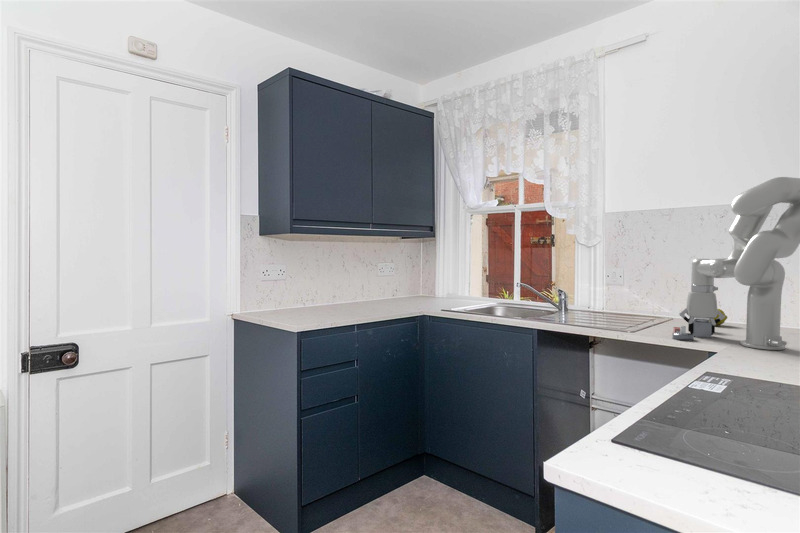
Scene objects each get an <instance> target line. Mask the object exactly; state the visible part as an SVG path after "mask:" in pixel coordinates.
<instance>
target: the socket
mask: <svg viewBox="0 0 800 533" xmlns="http://www.w3.org/2000/svg"><path fill="white" fill-rule="evenodd" d="M692 323H693V335H694V336H695V337H694V338H703V337H708V338H707V339H712V336H713V335H712V323H711V322H710V321H709V320H708V319H700V318H696V319H694V320H693V322H692Z"/></svg>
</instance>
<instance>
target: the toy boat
mask: <svg viewBox="0 0 800 533" xmlns="http://www.w3.org/2000/svg"><path fill="white" fill-rule="evenodd" d="M672 328H673V331H672V336H671V338H672V339H673V340H675V341H676V340H677V341H681V342H683V341H685V342H690V341H689V340H693V341H694V338H695V337H694V335H693V334H691V333H690V332H687V329H686V328H687V327H686V325H680V326H673V327H672Z"/></svg>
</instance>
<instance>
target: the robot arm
mask: <svg viewBox="0 0 800 533" xmlns="http://www.w3.org/2000/svg"><path fill="white" fill-rule="evenodd" d="M780 203H781V204H789V206H788V208H787V209H785V211H783V213H782V214H781V215H780V216H779V218H778V221H777V222H776V224H775V226H774V227H773V228H772V229H771V230H767V229H766V230H762V231H760V230H761V229H762V227H763V225H764V223H765V222H766V220H767V218H768V217H769V215H770V214H771V212H772V210H773V207H774V205H777V204H780ZM730 208H731V211H732V213H733V214H734V215H736V216H735V218H734V220H733V222H732V223H731V225H730V228H729V229H728V233H729V235H730V236H731V238H732V239H733V242H734V244H733V249H732V251H731V252H730V255H729V256H728V258H727V257H726V258H694V259H693V260H692V261H691V284H690V285H691V287H690V291H689V292H688V294H687V300H686V308H684V309H683V310H682V311H681V312H679V313H678V315H679V316H680V317H681V318H682V319H683V320H684V321H685V322H687V323H688V326H687V327H688V328H687V329H688V330H687V331H688V333H690V334H693V323H692V322H693V320H694V318H695V317H696V318H709V319H710V322H711V323H712V335H711V336H714V334H715V331H716V328H715V327H716V326H715V325H716V324H717V323H718V322H720V321H721V320H722V319H724V318H725V316H724V315H723V314H722V313H721V312H720V311H719V310H718V309H719V308H718V301H717V294H716V293H715V291H719V287H718V286H715V284H714V283H715V279H729V278H735V280H736V281H737V283H739V284H740V285H742V286H746V287H747V286H748V287H749V288H748V292H747V298H746V300H747V301H746V328H745V330H746V331H745V332H746V333H745V339H742V340H741V341H740V345H742V346H744V347H747V348H750V349H751V348H752V349H758V350H766V351H767V350H771V351H783V350H785V349H786V346H787V344H788V343H787V341H785V340H783V339H782V338H783V337H782V336H781V321H782V320H781V319H782V318H781V317H782V315H781V314H782V313H781V312H782V295H783V294H782V292H783V288H784V287H783V286H784V283H785V276H786V271H785V268H784V266H783V265H782V263H781V262H779V261H777V260H775V259H784V258H788V257H791V256H792V255H793V254H794V253H795V252H796V250H797V249H798V247H799V245H800V177H789V176H778V177H774V178H771V179H769V180H767V181H764V182H761V183H759V184H758V185H756V186H753V187H751V188H749V189H747V190H745V191H743V192H741V193H739V194H738V195H736V196H735V197H734V199H733V200H732V201H731V206H730ZM717 314H718V315H719V317H718V318H717V319H715V320H714V318H716V317H717ZM686 315H687V316H688V317H687V316H686Z"/></svg>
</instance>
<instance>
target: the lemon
mask: <svg viewBox="0 0 800 533" xmlns="http://www.w3.org/2000/svg"><path fill="white" fill-rule="evenodd" d="M717 309H718V310H719V311H720V312H721V313H722V314H723V315H724V316H725V318H724V319H722V320H721V321H720V322H718V323H717V324H716V325H715V327H717V326H721V325H723V324H724V323H725V322H726V320H727V319H728V316H727V315H726V313H725V311H723V310H722V309H720V308H717ZM718 317H719V315H718V314H717V317H716V318H714V320H715V319H717V318H718ZM709 321H710V319H709Z"/></svg>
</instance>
